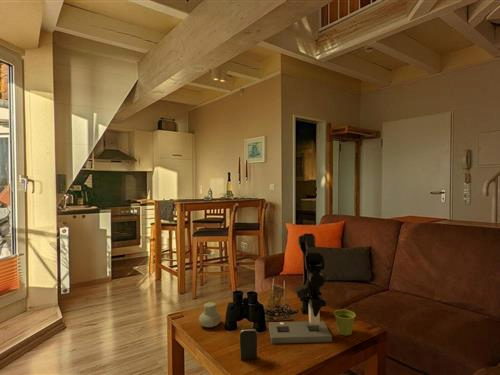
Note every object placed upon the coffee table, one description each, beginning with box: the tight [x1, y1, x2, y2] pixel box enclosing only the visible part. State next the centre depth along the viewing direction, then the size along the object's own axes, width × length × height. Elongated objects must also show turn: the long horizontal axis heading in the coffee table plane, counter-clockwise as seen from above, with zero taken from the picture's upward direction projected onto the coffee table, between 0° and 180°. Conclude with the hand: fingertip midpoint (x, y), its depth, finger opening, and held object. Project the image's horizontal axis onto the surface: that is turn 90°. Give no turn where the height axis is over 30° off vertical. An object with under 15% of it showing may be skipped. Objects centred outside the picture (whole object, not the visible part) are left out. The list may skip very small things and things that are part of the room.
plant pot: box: [333, 309, 356, 337], centre depth 138 cm, size 9×9×9 cm
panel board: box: [268, 320, 333, 344], centre depth 137 cm, size 14×26×3 cm, turn 91°
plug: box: [308, 303, 321, 324], centre depth 137 cm, size 4×4×8 cm
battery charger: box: [239, 327, 258, 361], centre depth 120 cm, size 7×4×11 cm, turn 94°
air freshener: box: [198, 301, 223, 328], centre depth 147 cm, size 11×8×10 cm
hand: (314, 314), depth 137 cm, fingers closed on plug, 4 cm apart
